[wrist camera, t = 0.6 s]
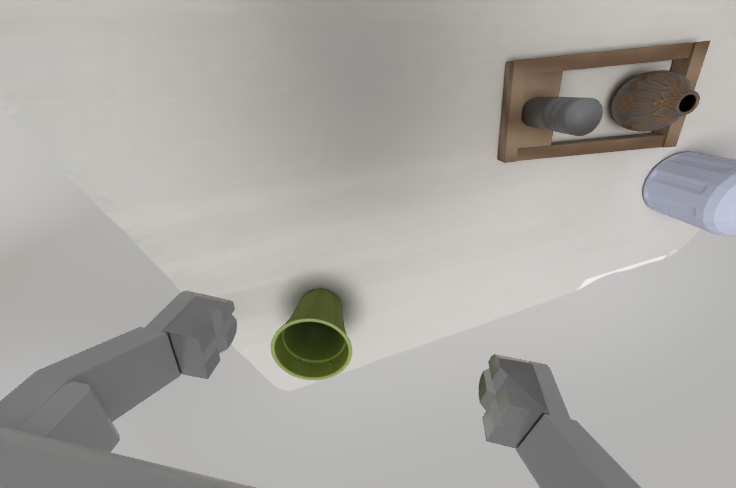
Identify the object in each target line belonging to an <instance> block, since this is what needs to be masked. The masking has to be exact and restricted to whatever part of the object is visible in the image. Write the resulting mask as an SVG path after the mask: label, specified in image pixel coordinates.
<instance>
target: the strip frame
mask: <svg viewBox="0 0 736 488" xmlns="http://www.w3.org/2000/svg"><path fill="white" fill-rule="evenodd" d="M709 43H710V41H702V42H694V43H684V44H674V45H664V46H655V47H645V48H635V49H625V50H615V51H605V52H595V53H586V54H576V55H566V56H556V57H546V58H536V59H525V60H515V61H510V62H506V70H505V82H504V93H503V104H502V115H501V127H500V138H499V149H498V160H500V161H502V162H504V163H506V162H516V161H520V160H531V159H541V158H552V157H562V156H573V155H583V154H593V153H604V152H614V151H625V150H635V149H646V148H656V147H674V146H676V144H677V141H678V138H679V135H680V132H681V129H682V126H683V123H684V120H685V117H686V115H684V116H682V117H681V118H680V119H678V120H677V121H676V122H674V123H672V124H670V125H668V126H666V127H664V128H661V129H657V130H653V133H648V134H638V135H628V136H617V137H607V138H597V139H586V140H576V141H565V142H555V143H551V142H552V136H553V131H555V132H560V133H565V134H570V135H575V136H583V135H586V134H588V133H590V132H591V131H593V130H594V129H595V128H596V127H597V125H598V124H599V122H600V120H601V118H602V113H603V110H602V106H601V104H600V102H599V101H598V100H596V99H594V98H573V97H559V91H560V85H561V79H562V72H563V71H564V70H574V69H584V68H594V67H604V66H614V65H624V64H634V63H644V62H654V61H664V60H674V61H673V65H672V68H671V71H673V72H676V73H679V74H681V75H683V76H685V77H686V78H687V79H688V80H689V81H690V82H691V84H692V86H693V89H695V86H696V83H697V80H698V77H699V74H700V71H701V68H702V65H703V61H704V58H705V55H706V52H707V49H708V46H709Z"/></svg>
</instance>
